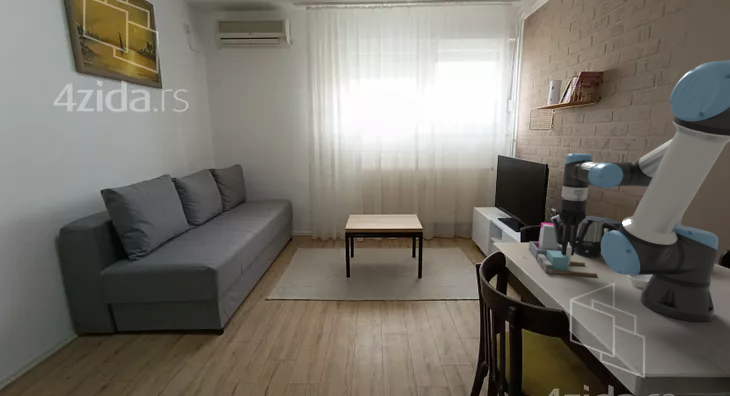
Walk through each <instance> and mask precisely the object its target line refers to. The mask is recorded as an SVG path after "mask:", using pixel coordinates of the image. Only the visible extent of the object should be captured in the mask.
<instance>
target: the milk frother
mask: <svg viewBox="0 0 730 396" xmlns="http://www.w3.org/2000/svg"><path fill="white" fill-rule="evenodd" d="M586 217H587V218H589V219H591V220H592V221H593V223H592V224H591V225H590V226H589V228H588V230H587V232H586V235H585V237H584V240H583V242H582V244H581V246H576V248H575V250H574V254H577V255H579V256H583V257H588V258H598V257H601V256H602V252H601V240H602V237H603V234H604V228H607V229H610V230H611V231H612V230H615V231H617V230H618V229H617V227H616V226H615V225H613V224H611V223H605V222H604V221H605V219H604V218H603V217H601V216H600V217H599V216H594V215H586ZM582 224H583V221H582V222H581V223H580V224H579V227H578V230H577V236H578V233H579V231H580V228H581V226H582Z"/></svg>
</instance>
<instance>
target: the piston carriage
mask: <svg viewBox="0 0 730 396" xmlns="http://www.w3.org/2000/svg"><path fill="white" fill-rule="evenodd" d="M546 258H547V259H548V260H549V261H550V263H551V264H552V265H553V269H552V270H562V271H568V268H569V265H568V261H569V258H568V257H567V256H566V255H562V254H561V251H549V250H547V254H546Z"/></svg>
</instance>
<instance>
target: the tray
mask: <svg viewBox="0 0 730 396" xmlns="http://www.w3.org/2000/svg"><path fill="white" fill-rule="evenodd" d="M538 245H539V241H531V240H530V241H529V244H528V251H529V252H530V253H531V254H532V256H533V255H534V256H533V257H534V258H535V260H537V255H538V254H543V255H544V256H545V257H546V254H547V250H539V249H538ZM561 248H562V245H559V244H558V248H557V251H561ZM549 251H555V250H549Z"/></svg>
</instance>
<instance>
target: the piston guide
mask: <svg viewBox="0 0 730 396" xmlns="http://www.w3.org/2000/svg"><path fill="white" fill-rule="evenodd" d="M536 262H537V263H538V265H539V266H540V268H541V269H542V271H544V273H545V274H554V275H555V274H556V275H567V276H580V277H592V278H593V277H594V278H598V273H597V272H585V271H572V270H567V271H562V270H552V269H553V265H552V264H551V263H550V261H549V260H548V259H547V258H546V257H545V256H544V255H543V254H538V255H537V259H536ZM569 266H580V267H581V266H583V267H584V266H585V267H586V263H585V262H582V261H571V260H570V265H569Z"/></svg>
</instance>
